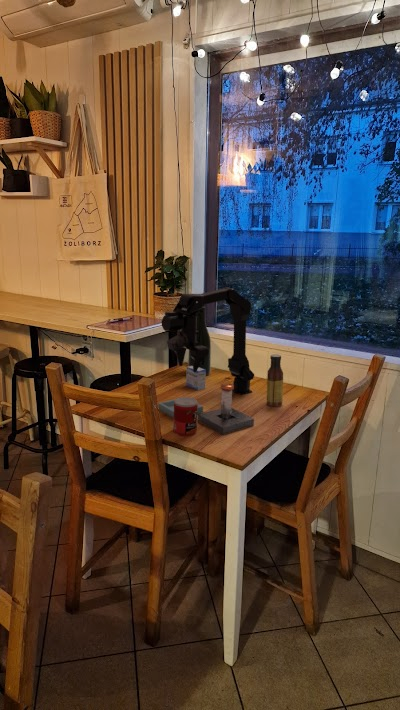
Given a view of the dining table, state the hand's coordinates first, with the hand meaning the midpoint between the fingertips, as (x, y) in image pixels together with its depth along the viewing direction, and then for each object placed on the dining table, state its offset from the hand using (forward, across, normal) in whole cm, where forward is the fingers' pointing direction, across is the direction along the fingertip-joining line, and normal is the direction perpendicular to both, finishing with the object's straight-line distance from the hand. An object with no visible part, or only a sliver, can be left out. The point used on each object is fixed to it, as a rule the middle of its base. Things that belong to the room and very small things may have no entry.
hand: (187, 368), depth 180 cm
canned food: (+15, +20, -15) cm, 29 cm away
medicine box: (+15, -15, +16) cm, 26 cm away
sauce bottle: (+15, +18, +29) cm, 37 cm away
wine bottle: (+15, -30, +29) cm, 44 cm away
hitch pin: (+15, +22, +1) cm, 26 cm away
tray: (+15, +4, -6) cm, 16 cm away
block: (+15, +22, +1) cm, 26 cm away
